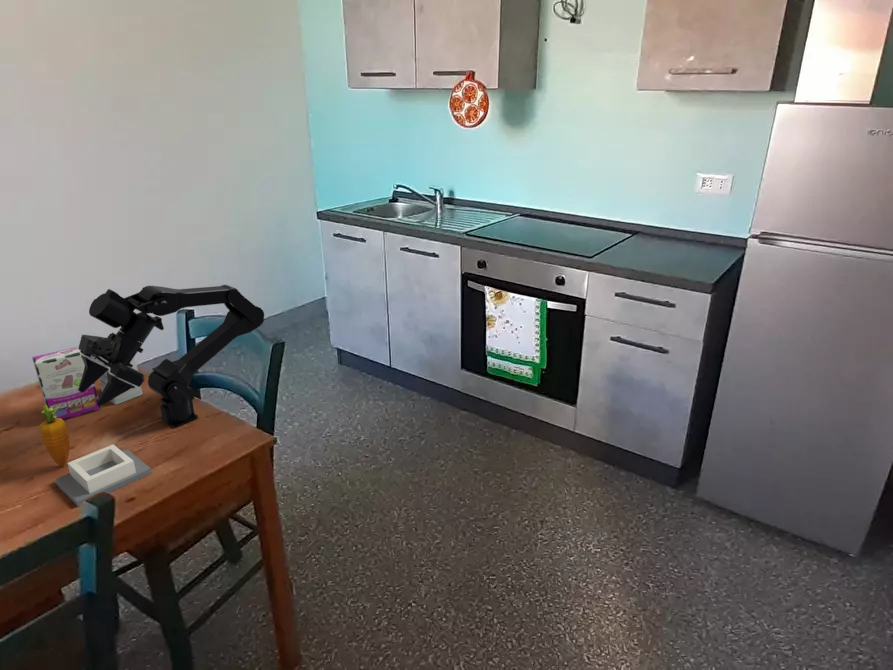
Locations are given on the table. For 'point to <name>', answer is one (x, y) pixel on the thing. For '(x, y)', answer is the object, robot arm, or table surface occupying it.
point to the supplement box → (126, 395)
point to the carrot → (55, 436)
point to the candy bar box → (65, 383)
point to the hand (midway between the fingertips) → (89, 398)
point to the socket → (101, 473)
